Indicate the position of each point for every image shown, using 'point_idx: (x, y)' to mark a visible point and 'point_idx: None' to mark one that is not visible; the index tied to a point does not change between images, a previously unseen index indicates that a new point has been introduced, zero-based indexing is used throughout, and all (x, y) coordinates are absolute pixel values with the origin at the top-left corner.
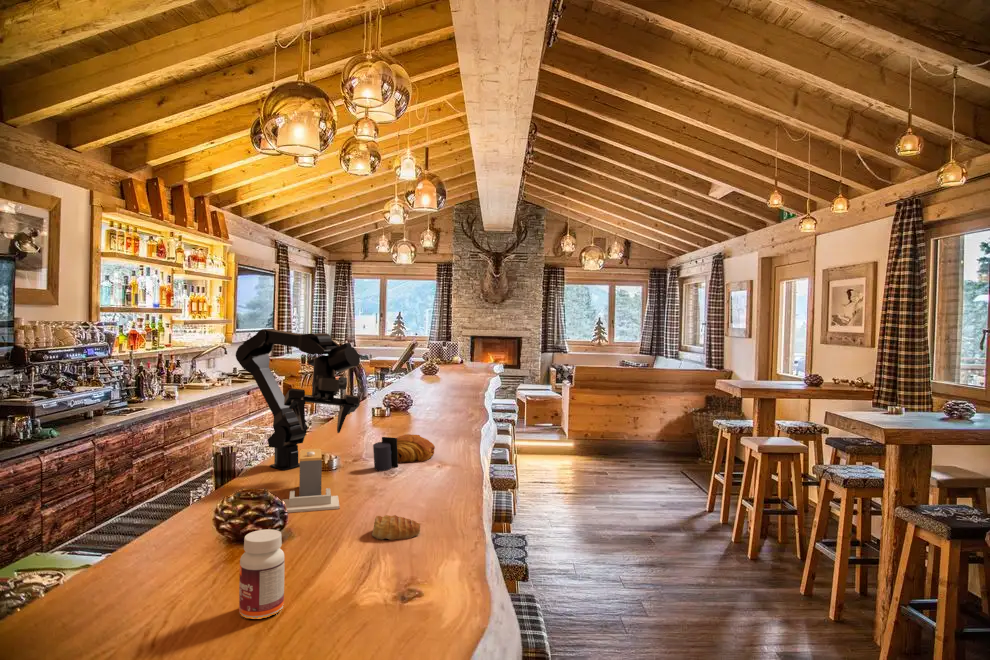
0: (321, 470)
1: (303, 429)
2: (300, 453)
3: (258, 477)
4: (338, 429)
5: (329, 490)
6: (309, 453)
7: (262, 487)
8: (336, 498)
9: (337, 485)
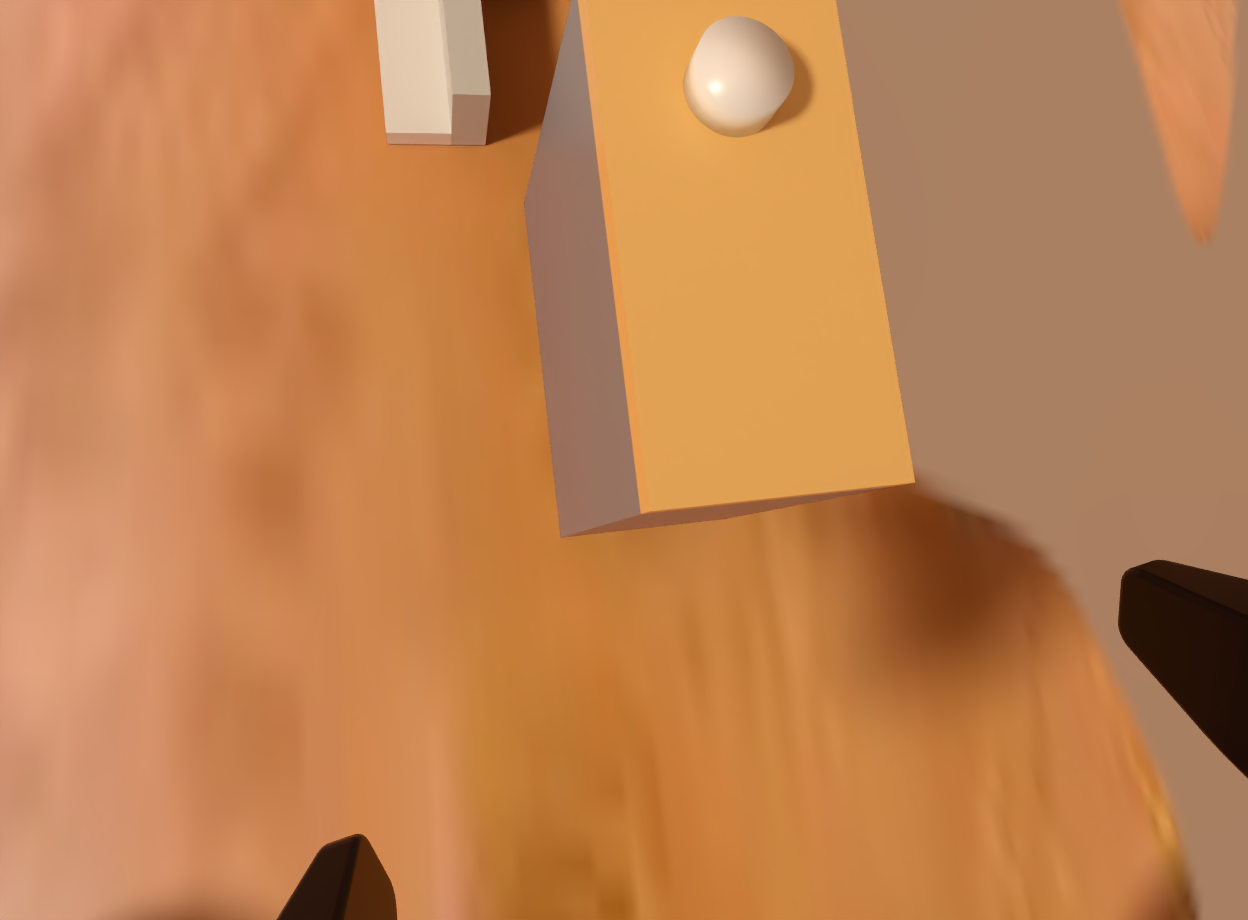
0: (556, 66)
1: (1127, 587)
2: (870, 238)
3: (1088, 842)
4: (358, 887)
5: (454, 31)
6: (755, 24)
7: (989, 539)
8: (394, 58)
9: (405, 517)
